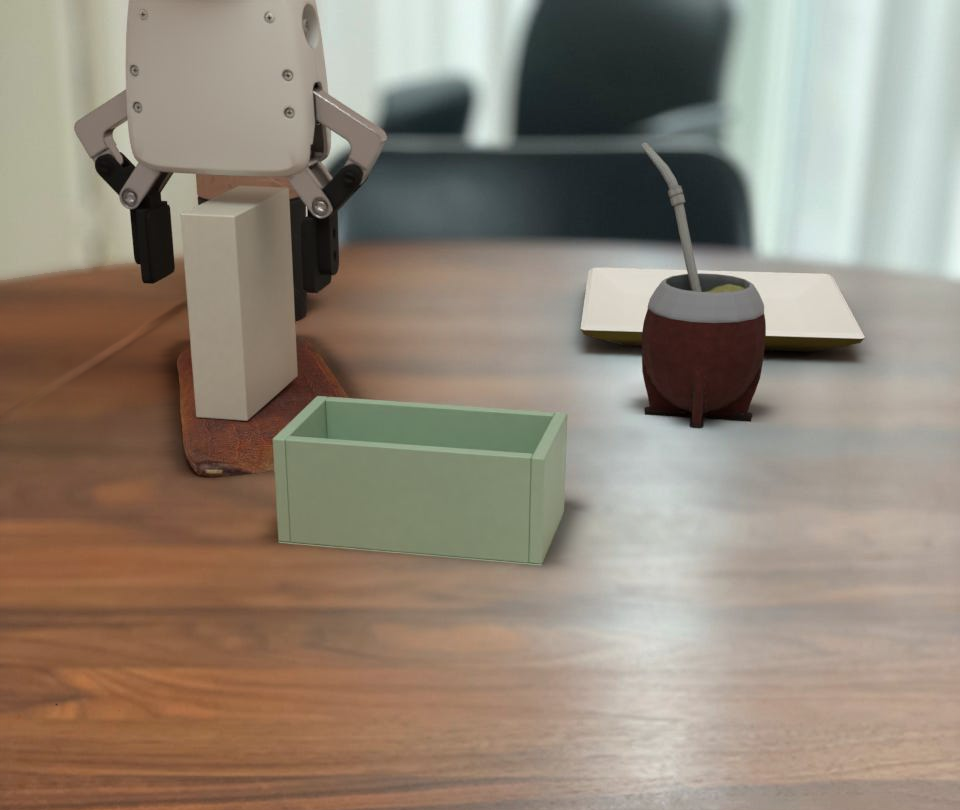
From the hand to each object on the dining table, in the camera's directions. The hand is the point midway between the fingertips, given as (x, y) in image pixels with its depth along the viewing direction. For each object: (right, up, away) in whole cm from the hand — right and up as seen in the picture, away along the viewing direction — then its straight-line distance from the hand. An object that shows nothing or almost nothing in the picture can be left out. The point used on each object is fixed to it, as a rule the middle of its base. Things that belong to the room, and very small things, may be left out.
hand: (237, 282), depth 83 cm
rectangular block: (0, -6, +3) cm, 7 cm away
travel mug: (-3, +4, +27) cm, 28 cm away
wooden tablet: (+1, -6, +7) cm, 9 cm away
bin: (+11, -15, -12) cm, 22 cm away
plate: (+30, +3, +25) cm, 39 cm away
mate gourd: (+26, -7, +6) cm, 27 cm away
